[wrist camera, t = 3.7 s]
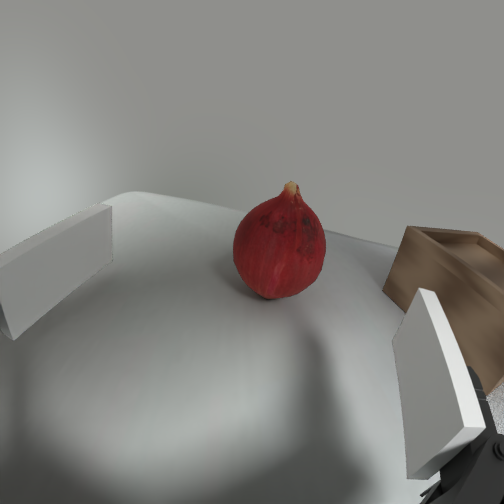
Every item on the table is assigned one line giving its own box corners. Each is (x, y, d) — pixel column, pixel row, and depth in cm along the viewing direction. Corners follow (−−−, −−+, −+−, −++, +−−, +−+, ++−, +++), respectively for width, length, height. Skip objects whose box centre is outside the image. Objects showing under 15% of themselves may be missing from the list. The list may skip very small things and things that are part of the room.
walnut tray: (536, 349, 19) (567, 296, 17) (486, 396, 15) (537, 323, 12) (457, 280, 30) (477, 232, 27) (382, 290, 25) (407, 225, 23)
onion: (324, 317, 21) (362, 204, 17) (245, 330, 18) (274, 198, 15) (284, 272, 25) (308, 174, 22) (214, 277, 23) (231, 167, 19)
